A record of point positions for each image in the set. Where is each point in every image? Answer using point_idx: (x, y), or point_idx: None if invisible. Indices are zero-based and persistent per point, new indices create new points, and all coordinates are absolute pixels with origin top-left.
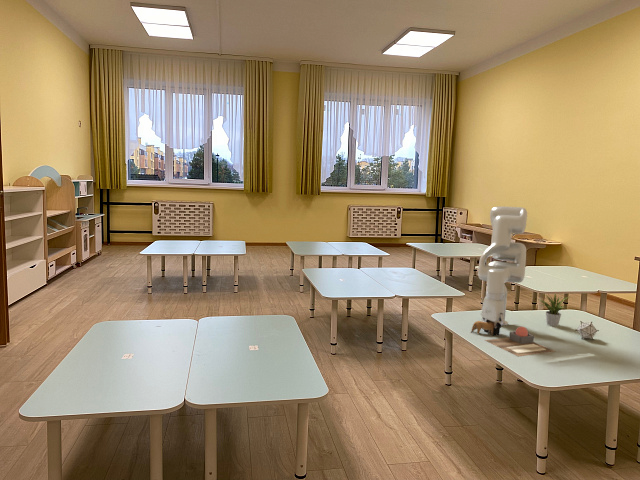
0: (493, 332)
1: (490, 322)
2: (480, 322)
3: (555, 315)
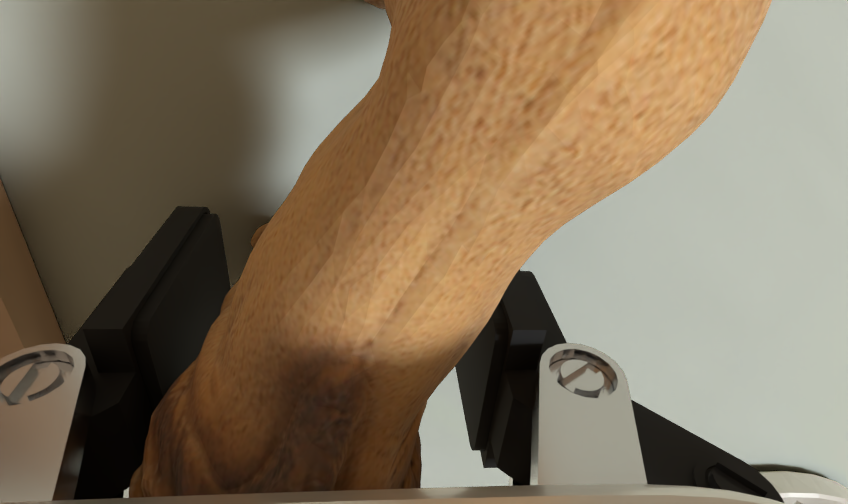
0: (161, 247)
1: (270, 445)
2: (457, 8)
3: None
